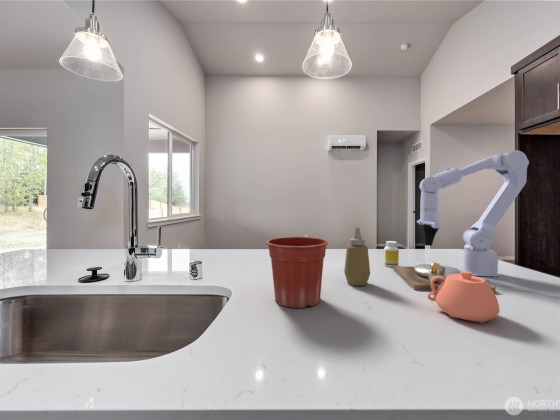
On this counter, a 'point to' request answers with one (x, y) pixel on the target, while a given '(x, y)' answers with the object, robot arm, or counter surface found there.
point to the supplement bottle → (391, 254)
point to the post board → (421, 278)
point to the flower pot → (297, 270)
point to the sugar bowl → (465, 297)
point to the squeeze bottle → (357, 261)
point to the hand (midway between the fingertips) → (428, 245)
